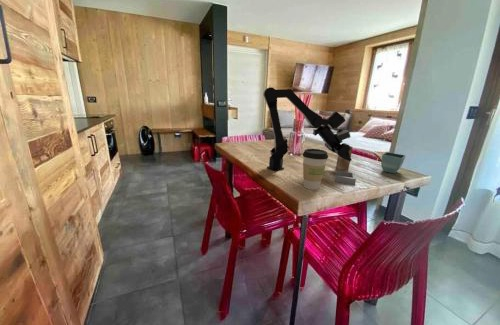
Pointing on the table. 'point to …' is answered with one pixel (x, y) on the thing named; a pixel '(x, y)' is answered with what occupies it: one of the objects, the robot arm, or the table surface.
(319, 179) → the coffee cup
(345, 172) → the u-shaped bracket
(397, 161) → the flower pot
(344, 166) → the wooden block
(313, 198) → the table surface
